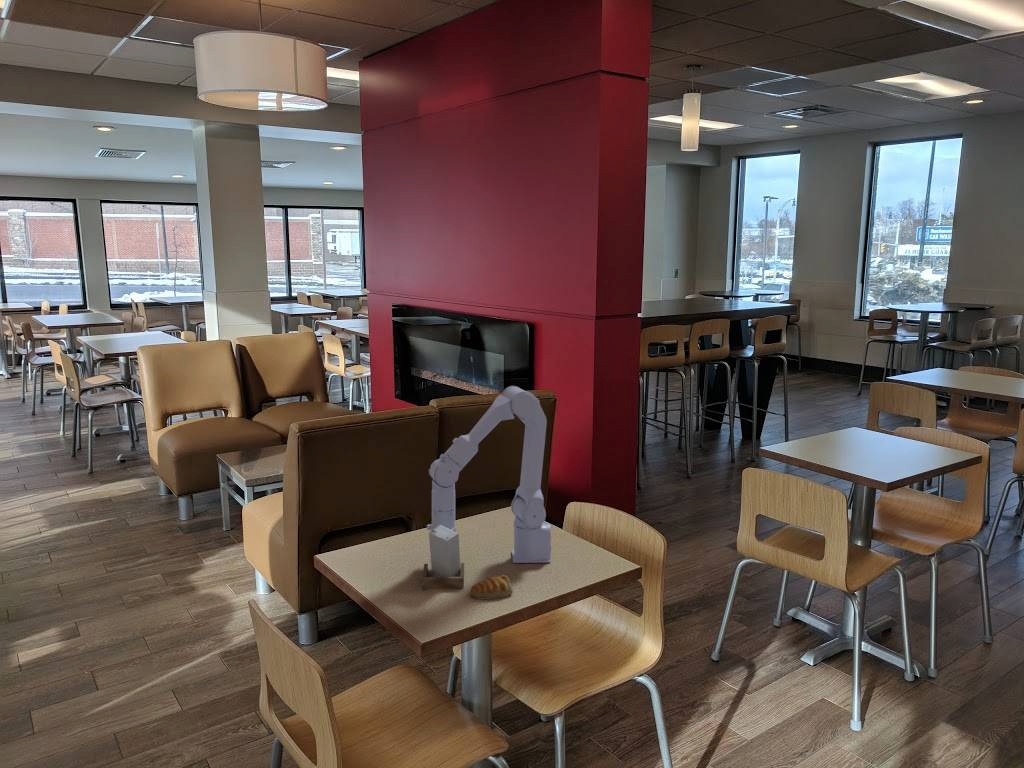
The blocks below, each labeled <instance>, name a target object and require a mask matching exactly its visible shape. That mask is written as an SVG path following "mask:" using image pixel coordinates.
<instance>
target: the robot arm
mask: <svg viewBox="0 0 1024 768" xmlns="http://www.w3.org/2000/svg"><path fill="white" fill-rule="evenodd" d="M540 402H541V401H540V399H539V398H537V396H536V395H534V394H533V393H532V392H530V391H526V390H524V389H522V388H520V387H519V386H516V385H510V386H508V387H506V388H505V389H504V390H503V391H502V393H501V394H499V395H497V397H495V399H494V401H493V403H492V404H491V406H490V407H489V408H488V409H487V411H486V412H485V413H484V414H483V415H482V417H481V418H480V419H479V421H477V423H476V424H475V425H474V426H473V428H472V429H471V430H470V432H469V433H467V434H465V435H463V434H462V435H460V436H459V437H455V438H454V439H453V440H452V444H451V446H449V448H448V449H447V450H446V451H445V452H444V453H441V454H440V456H439V458H438V459H435V460H434V461H433V462H432V463H431V464H430V468H429V469H428V474H429V476H430V478H431V479H432V480H431V488H432V489H431V524H427V525H426V529H427V530H428V531H429V530H430V531H432V530H433V529H435V528H436V527H437V526H439V525H442V526H444V527H446V528H448V529H451V530H453V531H455V532H456V531H457V524H456V483H457V482H458V479H459V476H460V472H461V471H462V470H463V469H464V467H466V465H467V464H468V463H469V462H470V461H471V460H472V458H474V456H475V455H476V454H477V453H479V444H480V443H481V442H482V441H483V440H484V438H485V437H487V436H488V435H489V434H490V433H491V432H492V430H493V429H495V428H496V426H498V425H499V423H500V422H502V421H508V420H514V419H515V416H514V414H515V415H516V417H518V419H519V420H520V421H521V422H522V423H523V424H524V425H525V427H524V436H523V446H522V447H523V448H522V459H521V470H520V480H519V486H518V487H517V488H516V490H515V495H514V498H513V499H512V501H511V505H510V509H511V513H512V514H513V515H514V517H515V518H514V521H513V549H511V555H512V563H514V564H528V563H531V564H532V563H535V564H536V563H551V561H552V560H551V557H552V556H551V553H552V546H551V545H552V544H551V541H552V533H551V524H550V523H545V521H546V517H547V512H546V509H545V505H544V501H545V500H544V495H543V492H542V489H541V488H542V487H541V485H542V476H543V465H544V456H545V455H544V454H545V447H546V446H545V443H546V435H547V434H546V433H547V425H548V424H547V422H548V420H547V416H546V414H545V412H544V410H543V408H542V406H541V403H540Z"/></svg>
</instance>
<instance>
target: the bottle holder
mask: <svg viewBox="0 0 1024 768" xmlns="http://www.w3.org/2000/svg"><path fill="white" fill-rule="evenodd" d="M428 565H429V564H428V563H424V565H423V571H422V577H421V589H422V590H439V588H441V589H442V590H443V589H444V588H452V589H465V586H464V585H465V563H463V562H460V575H459V576H458V577H439V576H429V577H428V575H429V566H428ZM441 589H440V590H441Z"/></svg>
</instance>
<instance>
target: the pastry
mask: <svg viewBox="0 0 1024 768" xmlns="http://www.w3.org/2000/svg"><path fill="white" fill-rule="evenodd" d="M469 591H470V593H469V594H470V596H471V597H474V598H476V599H477V600H478V599H479V600H482V599H481V598H490V599H489V600H492V599H493V598H494V599H499V598H498V597H500V598H505V596H506V597H510V596H512V594H513V592H514V591H513V586H512V584H511V580H510V578H509V577H508V575H505V574H501V575H500V576H489V577H486V578H485V579H484V580H481V581H478V582H477V583H476V584H474V585H472V586H471V588H470V590H469ZM509 595H510V596H509ZM494 599H493V600H494Z"/></svg>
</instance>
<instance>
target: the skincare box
mask: <svg viewBox="0 0 1024 768" xmlns="http://www.w3.org/2000/svg"><path fill="white" fill-rule="evenodd" d="M428 539H429V550H430V553H429V554H430V563H431V564H430V565H431V573H432V574H434V575H435V576H436V577H460V570H461V555H460V554H461V553H460V552H461V550H460V534H459V532H456V530H455V531H453V530H451V529H448V528H446V527H444V526H442V525H439V526H437V527H436V528H435V529H433V530H430V531H429V532H428Z"/></svg>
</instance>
